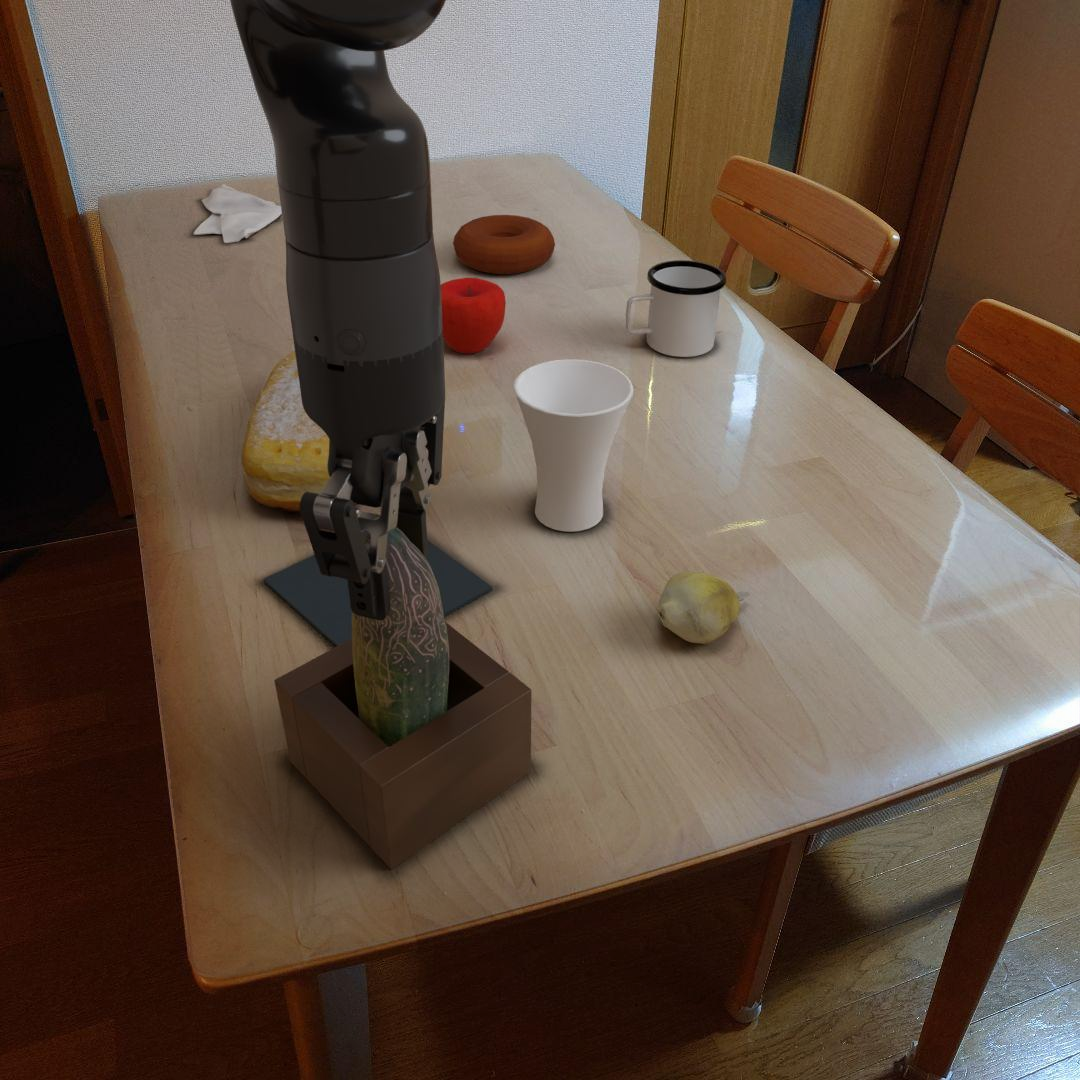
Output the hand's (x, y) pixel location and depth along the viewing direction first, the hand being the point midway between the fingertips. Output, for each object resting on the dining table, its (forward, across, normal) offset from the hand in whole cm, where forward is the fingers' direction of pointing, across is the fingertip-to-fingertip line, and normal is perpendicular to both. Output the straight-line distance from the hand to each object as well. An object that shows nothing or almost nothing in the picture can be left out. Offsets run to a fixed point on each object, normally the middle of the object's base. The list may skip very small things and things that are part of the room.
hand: (391, 584), depth 61 cm
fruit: (+16, -22, +17) cm, 32 cm away
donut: (+16, -93, -25) cm, 98 cm away
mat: (+16, -18, -10) cm, 26 cm away
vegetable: (+16, 0, 0) cm, 16 cm away
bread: (+16, -36, -26) cm, 47 cm away
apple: (+16, -65, -19) cm, 69 cm away
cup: (+16, -34, +2) cm, 38 cm away
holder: (+16, 0, 0) cm, 16 cm away
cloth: (+16, -98, -72) cm, 123 cm away
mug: (+16, -73, +4) cm, 75 cm away
